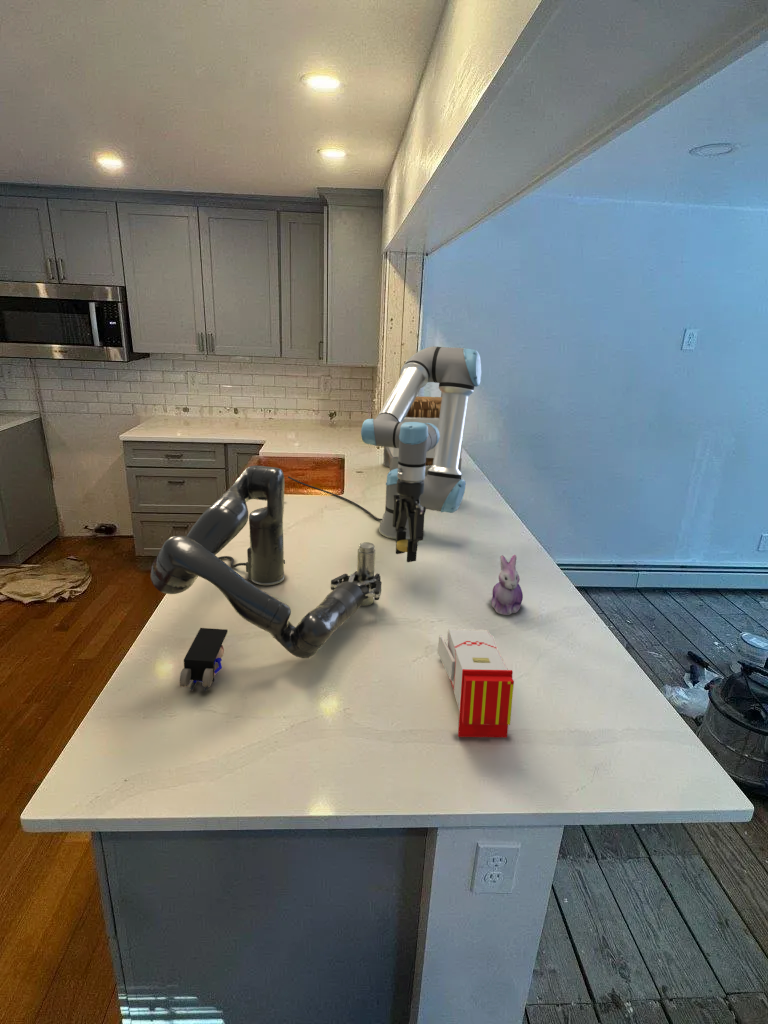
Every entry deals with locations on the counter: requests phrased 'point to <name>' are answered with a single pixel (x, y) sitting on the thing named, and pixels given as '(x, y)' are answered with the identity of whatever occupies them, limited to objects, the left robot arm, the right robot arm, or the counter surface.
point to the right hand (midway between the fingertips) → (405, 556)
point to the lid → (402, 545)
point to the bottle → (366, 566)
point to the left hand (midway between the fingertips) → (369, 575)
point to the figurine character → (203, 658)
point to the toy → (478, 682)
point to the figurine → (507, 588)
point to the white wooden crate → (423, 413)
